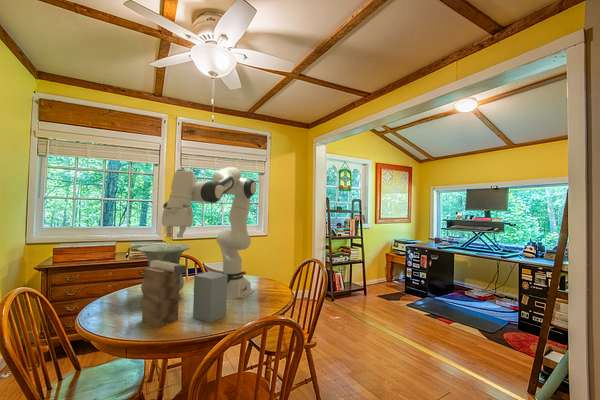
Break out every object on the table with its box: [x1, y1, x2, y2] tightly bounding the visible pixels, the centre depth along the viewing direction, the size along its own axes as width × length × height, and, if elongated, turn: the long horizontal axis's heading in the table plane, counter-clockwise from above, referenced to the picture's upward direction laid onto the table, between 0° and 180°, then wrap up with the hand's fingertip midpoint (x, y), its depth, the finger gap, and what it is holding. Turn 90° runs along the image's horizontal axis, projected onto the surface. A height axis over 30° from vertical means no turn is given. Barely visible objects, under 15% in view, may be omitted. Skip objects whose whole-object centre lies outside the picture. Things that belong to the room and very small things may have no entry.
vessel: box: [136, 243, 191, 301], centre depth 154 cm, size 27×27×30 cm
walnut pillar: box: [141, 267, 180, 328], centre depth 127 cm, size 10×12×24 cm
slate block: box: [192, 271, 228, 324], centre depth 133 cm, size 10×12×20 cm
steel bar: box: [150, 260, 187, 274], centre depth 125 cm, size 3×22×3 cm, turn 60°
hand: (174, 237), depth 115 cm, fingers open, 8 cm apart
